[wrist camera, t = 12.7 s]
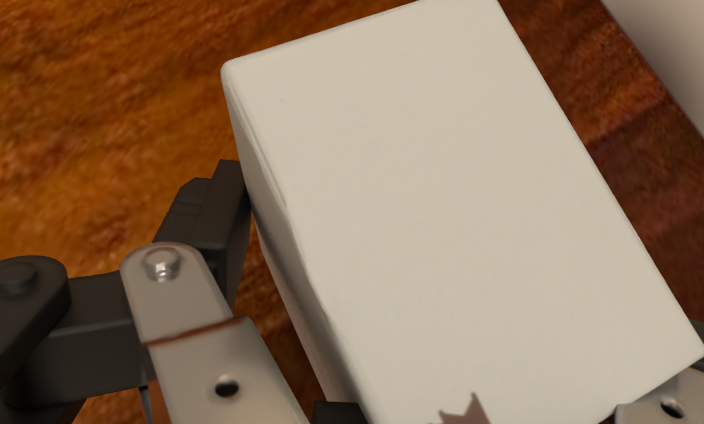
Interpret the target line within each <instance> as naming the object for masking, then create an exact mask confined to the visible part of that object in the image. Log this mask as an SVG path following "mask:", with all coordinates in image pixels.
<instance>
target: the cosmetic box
mask: <svg viewBox="0 0 704 424" xmlns="http://www.w3.org/2000/svg"><path fill="white" fill-rule="evenodd" d="M221 80H222V85H223V90H224V94H225V98H226V102H227V106H228V110H229V115H230V119H231V124H232V128H233V132H234V136H235V140H236V145H237V151H238V155H239V160H240V164H241V168H242V172H243V176H244V180H245V184H246V188H247V193H248V197H249V201H250V205H251V209H252V212H253V216H254V221H255V225H256V229H257V233H258V238H259V242H260V247H261V250H262V253H263V255H264V258H265V260H266V262H267V265H268V267H269V270H270V272H271V275H272V277H273V279H274V282H275V284H276V287H277V289H278V291H279V293H280V296H281V298H282V300H283V303H284V305H285V307H286V310H287V312H288V314H289V316H290V319H291V321H292V323H293V326H294V328H295V330H296V332H297V335H298V337H299V339H300V341H301V343H302V346H303V348H304V350H305V352H306V355H307V357H308V359H309V361H310V363H311V366H312V368H313V370H314V372H315V375H316V377H317V379H318V381H319V383H320V386H321V388H322V390H323V392H324V394H325V397H326V399H327V401H331V402H352V403H358V405H359V406H360V408H361V410H362V412H363V414H364V416H365V418H366V420H367V422H368V424H599V423H600V422H602V421H603V420H605V419H607V418H608V417H609V416H610V415H612V414H614V413H615V410H616V407H617V404H627V403H632V402H634V401H635V400H637V399H639V398H640V397H642V396H643V395H645V394H647V393H648V392H650V391H652V390H653V389H655V388H656V387H658V386H659V385H661V384H662V383H664V382H665V381H667V380H668V379H670V378H671V377H673V376H674V375H676V374H677V373H679V372H681V371H682V370H684V369H685V368H687V367H688V366H690V365H691V364H693V363H695V362H696V361H698V360H699V359H701V358H703V357H704V344H703V342H702V341H701V339H700V338H699V336H698V334H697V333H696V331H695V330H694V328H693V326H692V325H691V323H690V321H689V320H688V318H687V317H686V315H685V313H684V312H683V310H682V308H681V307H680V305H679V304H678V302H677V300H676V299H675V297H674V295H673V294H672V292H671V291H670V289H669V287H668V286H667V284H666V282H665V281H664V279H663V277H662V276H661V274H660V272H659V271H658V269H657V267H656V266H655V264H654V262H653V261H652V259H651V257H650V255H649V254H648V252H647V250H646V249H645V247H644V245H643V243H642V242H641V240H640V238H639V237H638V235H637V233H636V232H635V230H634V228H633V227H632V225H631V224H630V222H629V220H628V219H627V217H626V215H625V214H624V212H623V210H622V209H621V207H620V205H619V204H618V202H617V200H616V199H615V197H614V195H613V194H612V192H611V190H610V189H609V187H608V185H607V184H606V182H605V180H604V179H603V177H602V175H601V174H600V172H599V170H598V169H597V167H596V165H595V164H594V162H593V160H592V159H591V157H590V155H589V154H588V152H587V150H586V149H585V147H584V145H583V144H582V142H581V141H580V139H579V137H578V136H577V134H576V132H575V131H574V129H573V127H572V126H571V124H570V122H569V121H568V119H567V117H566V116H565V114H564V112H563V111H562V109H561V107H560V106H559V104H558V102H557V101H556V99H555V98H554V96H553V94H552V93H551V91H550V89H549V87H548V86H547V84H546V82H545V81H544V79H543V77H542V76H541V74H540V72H539V71H538V69H537V67H536V65H535V64H534V62H533V60H532V59H531V57H530V55H529V54H528V52H527V50H526V49H525V47H524V45H523V44H522V42H521V40H520V39H519V37H518V35H517V34H516V32H515V30H514V29H513V27H512V26H511V24H510V22H509V21H508V19H507V17H506V15H505V14H504V12H503V10H502V8H501V7H500V5H499V3H498V1H497V0H419V1H416V2H413V3H410V4H406V5H403V6H400V7H397V8H394V9H390V10H387V11H384V12H381V13H378V14H374V15H371V16H368V17H365V18H362V19H359V20H355V21H352V22H349V23H346V24H343V25H340V26H337V27H334V28H331V29H328V30H325V31H322V32H319V33H315V34H312V35H309V36H306V37H303V38H300V39H297V40H293V41H290V42H287V43H284V44H281V45H278V46H275V47H271V48H268V49H265V50H262V51H259V52H255V53H252V54H248V55H245V56H242V57H238V58H235V59H232V60H229V61H227V62H226V63H225V64H224V65H223V67H222V69H221Z"/></svg>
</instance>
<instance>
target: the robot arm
mask: <svg viewBox="0 0 704 424" xmlns="http://www.w3.org/2000/svg"><path fill="white" fill-rule="evenodd" d="M250 226H251V205H250V201H249V197H248V193H247V188H246V184H245V180H244V176H243V172H242V168H241V164H240V161H234V160H223V159H220V161H219V163H218V165H217V168H216V170H215V172H214V175H213V177H212V179H208V178H197V177H195V178H194V179H192V180H191V181H189V182H188V183H186V184H185V185H183V186H182V187H180V189H179V191H178V193H177V195H176V197H175V199H174V202H173V203H172V205H171V207H170V209H169V212H167V214H166V216H165V218H164V220H163V222H162V224H161V226H160V228H159V230H158V232H157V234H156V235H155V237H154V239H153V241H152V243H151V244H147V245H144V246H141V247H139V248H137V249H135V250H133V251H131V252H130V253H129V254H128V255H126V256H125V257H124V259H123V260H122V262H121V264H120V270H118V271H114V272H110V273H105V274H99V275H92V276H84V277H76V278H68V277H67V272H66V268H65V267H64V265H63V264H62V263H61V262H59V261H57V260H56V259H53V258H50V257H45V256H37V255H27V256H18V257H13V258H8V259H5V260H1V261H0V424H72V422H73V420H74V419H75V417H76V416H77V414H78V412H79V411H80V409H81V408H82V406H83V404H84V403H85V401H86V399H87V398H89V397H94V396H99V395H103V394H108V393H113V392H117V391H122V390H127V389H132V388H136V391H137V395H138V399H139V403H140V407H141V411H142V414H143V418H144V422H145V424H368V422H367V420H366V418H365V416H364V414H363V412H362V410H361V408H360V406H359V405H358V403H352V402H331V401H315V402H314V410H313V417H312V421H308V419H307V418H306V416H305V414H304V412H303V411H302V409H301V407H300V405H299V403H298V402H297V400H296V398H295V396H294V394H293V393H292V391H291V389H290V387H289V385H288V384H287V382H286V380H285V378H284V376H283V375H282V373H281V371H280V369H279V367H278V366H277V364H276V362H275V360H274V358H273V357H272V355H271V353H270V351H269V349H268V348H267V346H266V344H265V342H264V341H263V339H262V337H261V335H260V333H259V332H258V330H257V328H256V326H255V324H254V323H253V321H252V320H251V319H250V317H248V316H247V315H243V316H240V317H236V318H234V316H233V314H232V313H233V309H234V304H235V300H236V296H237V291H238V287H239V282H240V278H241V274H242V269H243V265H244V261H245V256H246V252H247V247H248V243H249V236H250ZM688 320H689V321H690V323H691V325H692V326H693V328H694V330H695V331H696V333H697V334H698V336H699V338H700V339H701V341H702V342H703V344H704V323H703V322H700V321H696V320H692V319H689V318H688ZM599 424H704V357H703V358H701V359H699V360H698V361H696V362H695V363H693V364H691V365H690V366H688V367H687V368H685V369H684V370H682V371H681V372H679V373H677V374H676V375H674V376H673V377H671V378H670V379H668V380H667V381H665V382H664V383H662V384H661V385H659V386H658V387H656V388H655V389H653V390H652V391H650V392H648V393H647V394H645V395H643V396H642V397H640V398H639V399H637V400H635V401H634V402H632V403H627V404H617V407H616V410H615V413H614V414H612V415H610V416H609V417H608V418H607V419H605V420H603V421H602V422H600V423H599Z"/></svg>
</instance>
